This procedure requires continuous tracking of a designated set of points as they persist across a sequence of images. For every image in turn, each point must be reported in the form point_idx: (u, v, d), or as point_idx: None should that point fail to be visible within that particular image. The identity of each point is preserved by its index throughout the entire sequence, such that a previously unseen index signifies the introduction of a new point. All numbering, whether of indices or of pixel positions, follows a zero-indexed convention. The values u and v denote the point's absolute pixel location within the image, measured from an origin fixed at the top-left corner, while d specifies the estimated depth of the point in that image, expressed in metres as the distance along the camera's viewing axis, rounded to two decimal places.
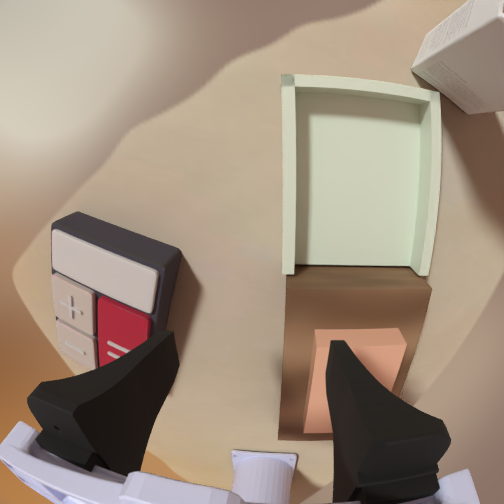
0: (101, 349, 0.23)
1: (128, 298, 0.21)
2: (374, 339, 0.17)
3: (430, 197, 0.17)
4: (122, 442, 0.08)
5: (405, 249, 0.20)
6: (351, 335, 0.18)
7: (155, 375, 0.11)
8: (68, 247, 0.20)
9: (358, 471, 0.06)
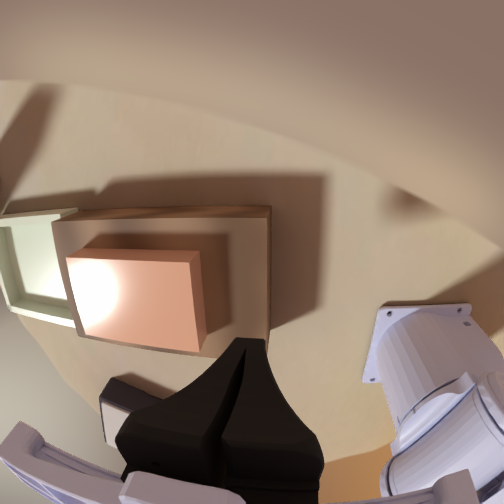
0: None
1: None
2: None
3: (22, 224, 0.21)
4: (221, 464, 0.07)
5: None
6: None
7: (239, 385, 0.11)
8: (112, 440, 0.28)
9: (227, 469, 0.06)
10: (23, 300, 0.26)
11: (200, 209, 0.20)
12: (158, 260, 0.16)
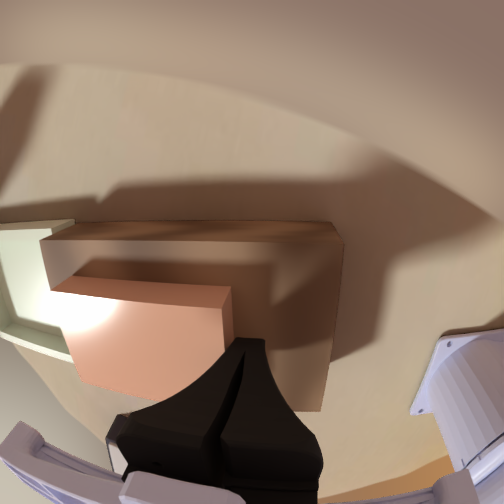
0: None
1: None
2: None
3: (7, 239, 0.16)
4: (222, 464, 0.07)
5: None
6: None
7: (240, 386, 0.11)
8: None
9: (226, 469, 0.06)
10: (15, 325, 0.21)
11: (242, 226, 0.15)
12: (176, 304, 0.11)
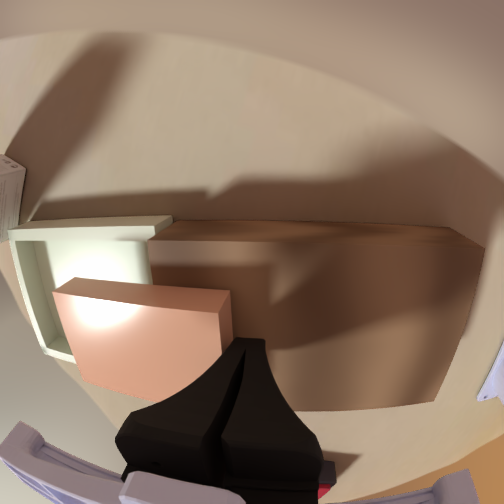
0: None
1: None
2: None
3: (74, 238, 0.15)
4: (221, 464, 0.07)
5: None
6: None
7: (239, 385, 0.11)
8: None
9: (226, 469, 0.06)
10: (64, 339, 0.20)
11: (389, 230, 0.14)
12: (174, 307, 0.11)
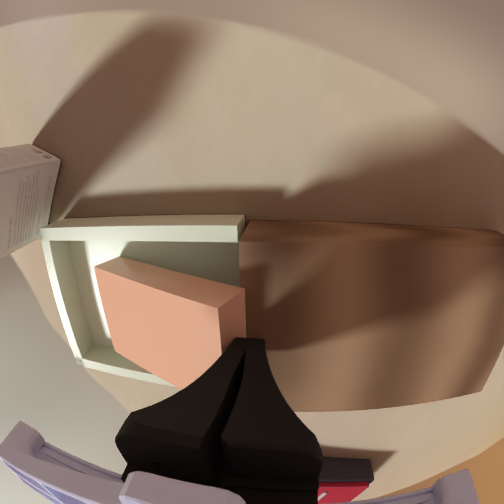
0: None
1: None
2: None
3: (132, 238, 0.14)
4: (222, 464, 0.07)
5: (219, 242, 0.16)
6: None
7: (239, 385, 0.11)
8: None
9: (226, 469, 0.06)
10: (101, 348, 0.20)
11: (455, 233, 0.13)
12: (183, 296, 0.12)
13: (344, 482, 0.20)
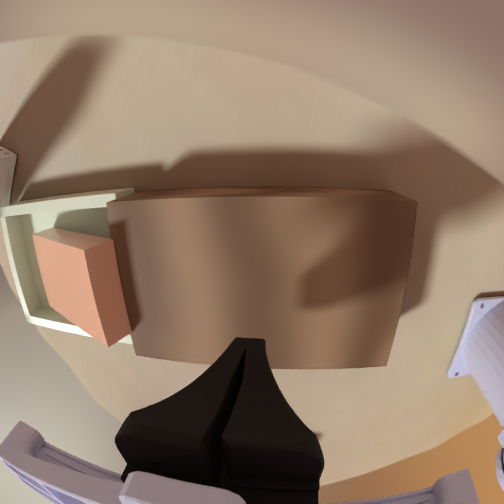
0: None
1: None
2: None
3: (53, 209, 0.17)
4: (221, 464, 0.07)
5: None
6: None
7: (239, 385, 0.11)
8: None
9: (227, 469, 0.06)
10: (46, 308, 0.22)
11: (321, 190, 0.16)
12: (70, 245, 0.14)
13: None
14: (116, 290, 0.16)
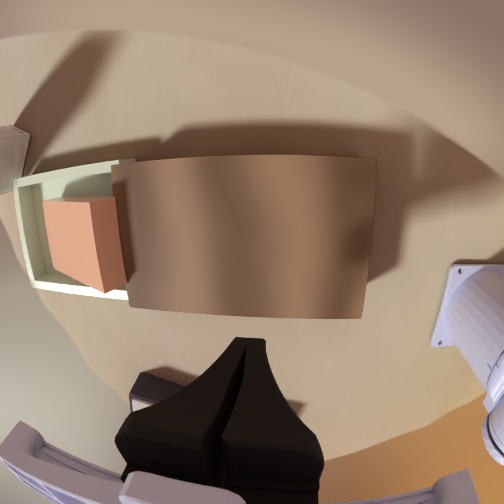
0: None
1: None
2: None
3: (63, 177, 0.19)
4: (221, 464, 0.07)
5: None
6: None
7: (239, 385, 0.11)
8: None
9: (227, 469, 0.06)
10: (50, 274, 0.24)
11: None
12: (77, 201, 0.17)
13: None
14: (115, 241, 0.18)
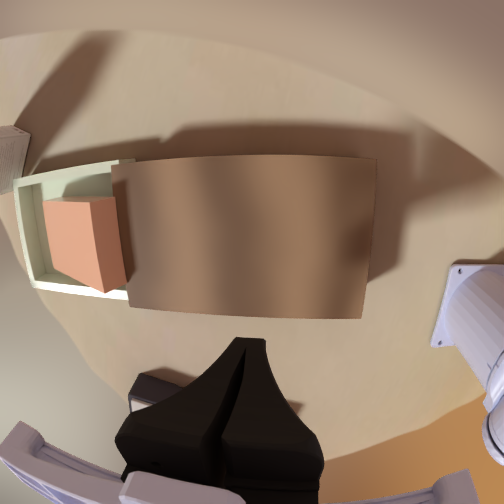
0: None
1: None
2: None
3: (63, 177, 0.19)
4: (221, 464, 0.07)
5: None
6: None
7: (239, 385, 0.11)
8: None
9: (227, 469, 0.06)
10: (50, 274, 0.24)
11: None
12: (77, 201, 0.17)
13: None
14: (115, 241, 0.18)
